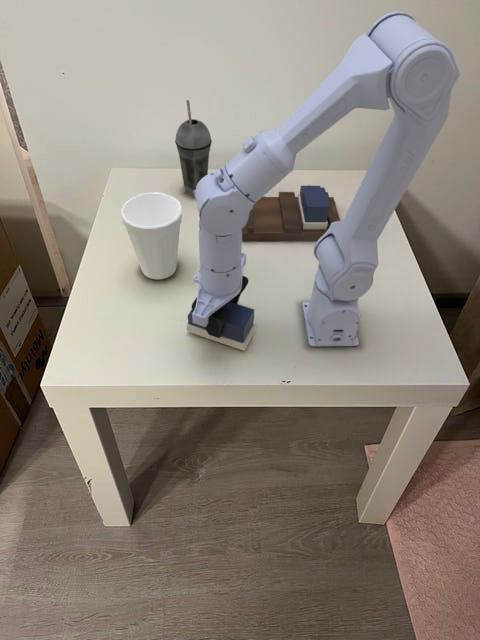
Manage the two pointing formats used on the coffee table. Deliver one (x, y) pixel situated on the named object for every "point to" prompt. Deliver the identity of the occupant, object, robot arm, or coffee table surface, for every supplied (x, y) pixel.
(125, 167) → the coffee table surface
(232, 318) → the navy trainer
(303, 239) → the slotted wooden tray
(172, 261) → the cup
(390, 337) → the coffee table surface
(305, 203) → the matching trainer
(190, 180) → the beverage cup
